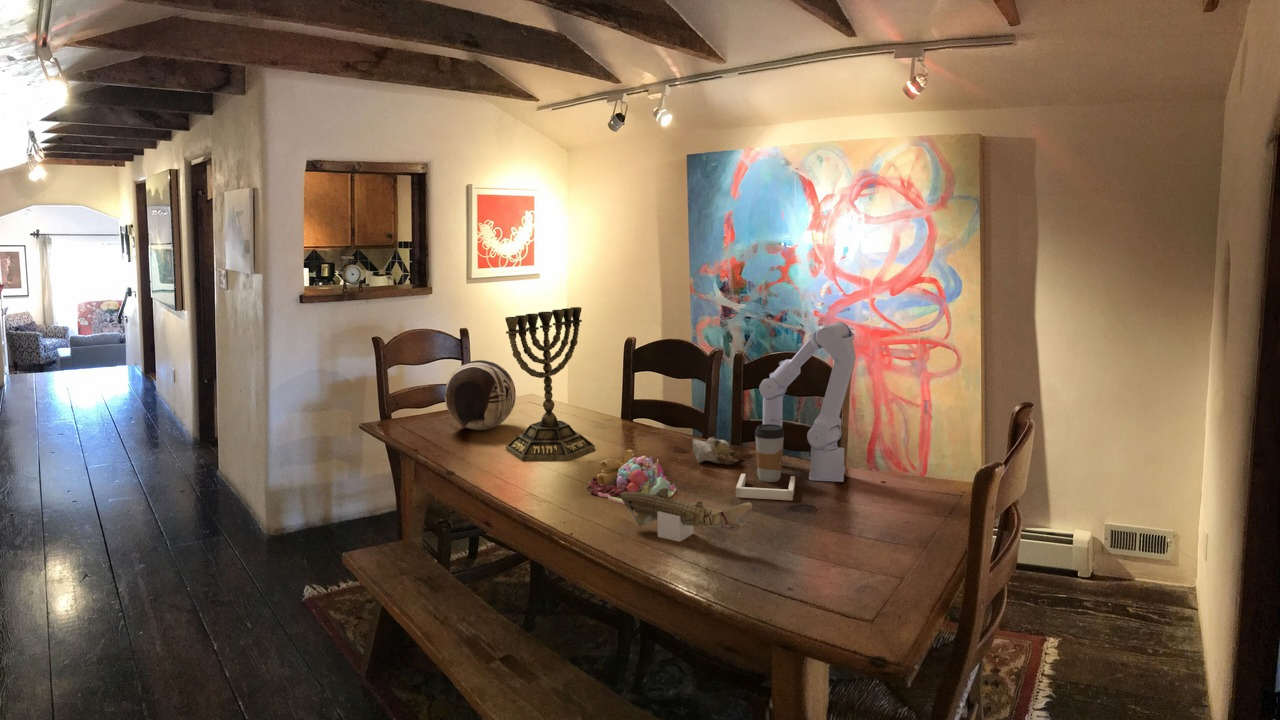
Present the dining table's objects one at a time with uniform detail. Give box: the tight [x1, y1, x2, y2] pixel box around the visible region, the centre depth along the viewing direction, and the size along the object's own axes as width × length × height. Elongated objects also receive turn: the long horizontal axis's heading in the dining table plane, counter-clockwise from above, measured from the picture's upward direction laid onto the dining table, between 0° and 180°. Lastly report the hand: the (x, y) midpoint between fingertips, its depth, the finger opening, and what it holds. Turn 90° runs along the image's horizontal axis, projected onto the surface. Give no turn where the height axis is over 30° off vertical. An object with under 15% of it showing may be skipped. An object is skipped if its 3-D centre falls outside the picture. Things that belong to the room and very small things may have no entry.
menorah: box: [505, 306, 596, 462], centre depth 265 cm, size 36×25×45 cm
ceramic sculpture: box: [692, 435, 743, 466], centre depth 251 cm, size 11×9×15 cm
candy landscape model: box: [586, 449, 677, 505], centre depth 227 cm, size 25×24×9 cm
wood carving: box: [620, 488, 753, 543], centre depth 191 cm, size 9×35×11 cm, turn 55°
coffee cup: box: [754, 424, 786, 483], centre depth 233 cm, size 8×8×15 cm
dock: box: [735, 473, 796, 501], centre depth 223 cm, size 15×13×2 cm
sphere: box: [444, 359, 517, 431], centre depth 297 cm, size 25×25×25 cm
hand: (772, 463), depth 244 cm, fingers open, 7 cm apart
